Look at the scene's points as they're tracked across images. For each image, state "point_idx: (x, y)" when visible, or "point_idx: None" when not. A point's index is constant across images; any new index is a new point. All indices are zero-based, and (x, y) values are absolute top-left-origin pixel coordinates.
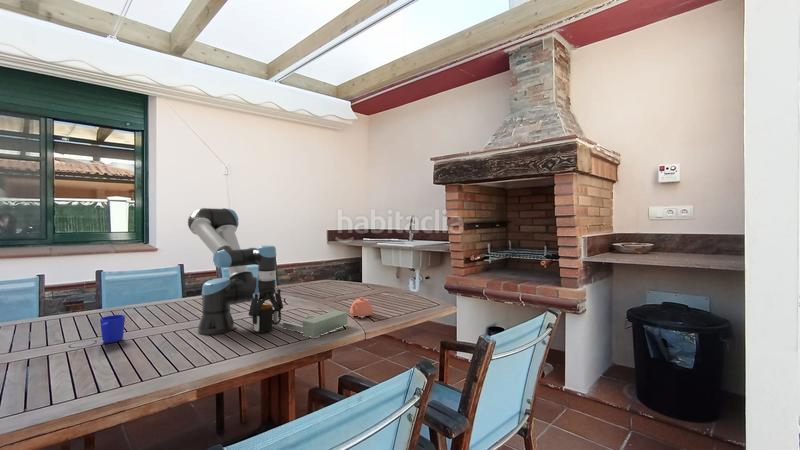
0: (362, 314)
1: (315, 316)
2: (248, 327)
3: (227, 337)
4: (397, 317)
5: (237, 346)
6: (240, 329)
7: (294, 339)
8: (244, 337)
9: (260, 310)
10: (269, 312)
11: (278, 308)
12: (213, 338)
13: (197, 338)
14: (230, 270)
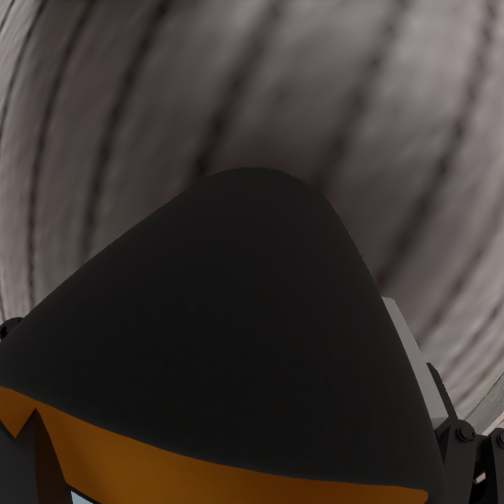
0: None
1: (499, 417)
2: (310, 22)
3: (42, 106)
4: (479, 476)
5: (17, 289)
6: (223, 3)
7: None
8: (84, 215)
9: (74, 478)
10: (207, 495)
11: None
12: (15, 58)
13: (9, 4)
14: None
